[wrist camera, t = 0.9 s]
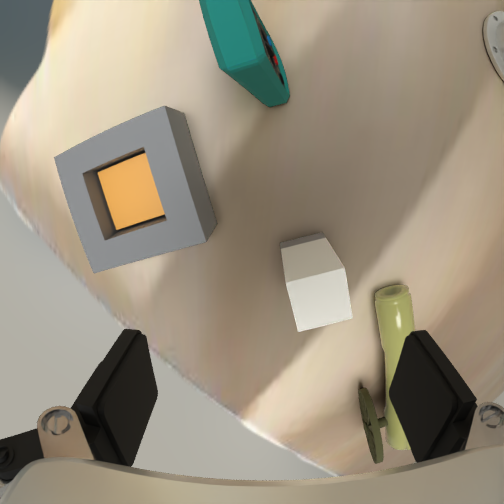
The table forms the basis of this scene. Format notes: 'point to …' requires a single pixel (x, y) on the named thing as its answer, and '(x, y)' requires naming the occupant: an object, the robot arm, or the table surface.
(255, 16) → the digital multimeter
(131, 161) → the orange square tile
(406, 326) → the cannon
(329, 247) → the plug
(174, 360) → the table surface
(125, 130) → the socket
